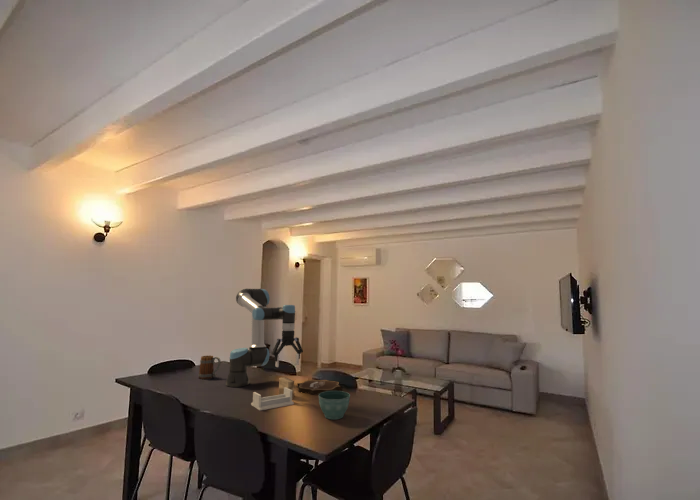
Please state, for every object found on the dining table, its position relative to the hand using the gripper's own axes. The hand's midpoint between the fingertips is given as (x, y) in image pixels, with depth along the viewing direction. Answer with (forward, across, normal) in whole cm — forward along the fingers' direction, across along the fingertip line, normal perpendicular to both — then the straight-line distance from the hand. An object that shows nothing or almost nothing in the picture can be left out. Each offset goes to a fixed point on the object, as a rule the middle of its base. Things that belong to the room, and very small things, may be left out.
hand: (287, 365), depth 227 cm
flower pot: (+18, +3, -47) cm, 50 cm away
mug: (+18, -24, +74) cm, 80 cm away
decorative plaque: (+19, +26, +4) cm, 32 cm away
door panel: (+18, 0, 0) cm, 18 cm away
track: (+18, -14, -11) cm, 25 cm away
